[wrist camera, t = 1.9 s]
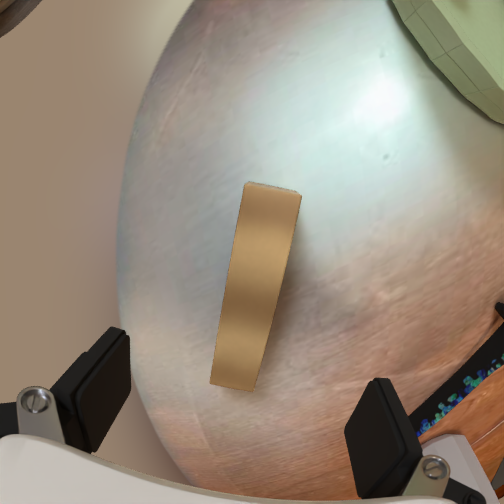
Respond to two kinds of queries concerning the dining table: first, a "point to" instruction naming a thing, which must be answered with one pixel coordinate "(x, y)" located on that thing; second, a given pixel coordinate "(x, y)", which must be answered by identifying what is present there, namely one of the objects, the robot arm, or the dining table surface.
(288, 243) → the stick
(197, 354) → the dining table surface
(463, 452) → the jar
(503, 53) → the shallow round dish
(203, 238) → the dining table surface
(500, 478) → the model building
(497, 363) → the knife
